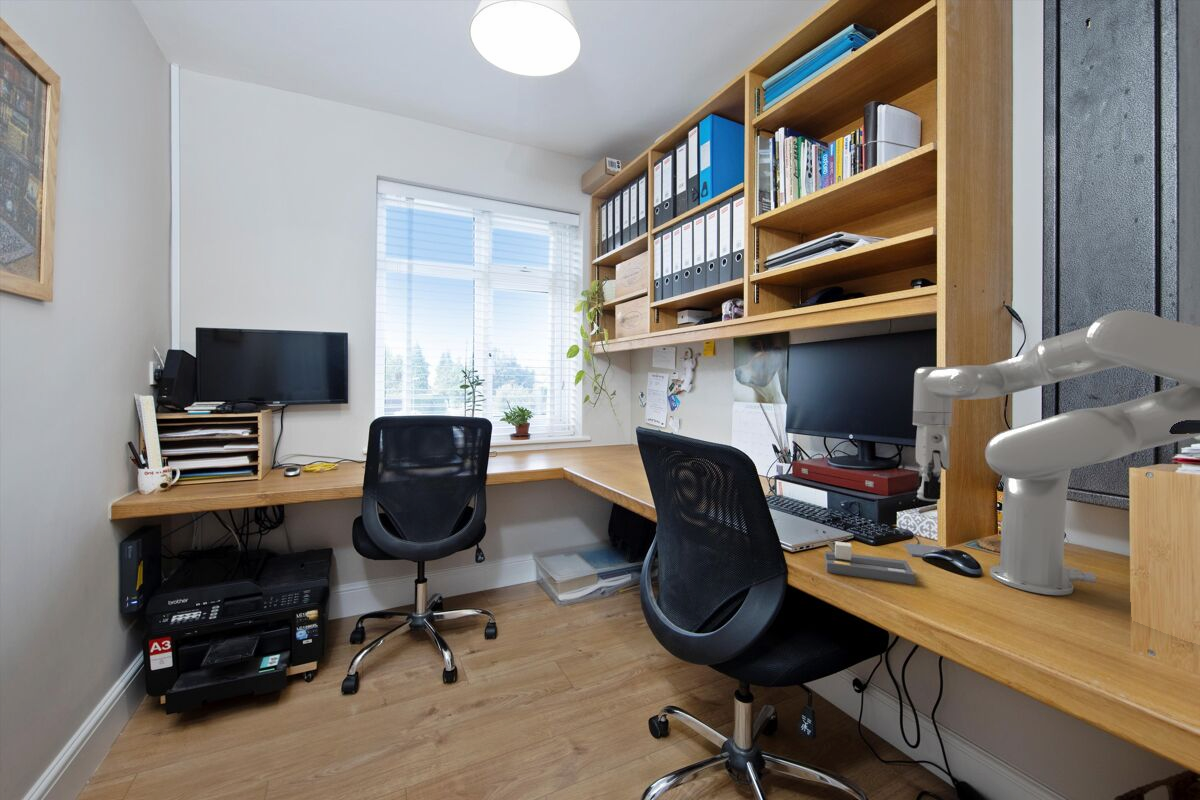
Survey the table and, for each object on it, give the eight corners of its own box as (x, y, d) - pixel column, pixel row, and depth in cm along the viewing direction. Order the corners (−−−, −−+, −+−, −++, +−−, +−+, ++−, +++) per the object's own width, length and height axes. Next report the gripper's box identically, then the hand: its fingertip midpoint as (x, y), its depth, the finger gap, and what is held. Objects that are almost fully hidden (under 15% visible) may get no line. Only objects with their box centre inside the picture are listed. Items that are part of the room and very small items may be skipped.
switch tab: (849, 556, 105) (850, 543, 105) (851, 560, 103) (851, 546, 103) (834, 554, 107) (835, 541, 106) (835, 558, 104) (836, 544, 104)
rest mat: (942, 549, 117) (942, 547, 117) (952, 560, 109) (952, 558, 109) (904, 544, 120) (904, 542, 120) (911, 555, 112) (911, 553, 112)
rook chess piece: (919, 495, 117) (920, 463, 117) (941, 499, 114) (942, 465, 113) (913, 498, 114) (915, 465, 114) (935, 502, 111) (937, 468, 110)
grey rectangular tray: (905, 569, 104) (906, 560, 104) (914, 584, 97) (914, 574, 96) (824, 559, 110) (824, 550, 110) (826, 572, 103) (827, 562, 102)
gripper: (962, 423, 104) (959, 506, 105) (940, 417, 119) (937, 489, 120) (921, 421, 107) (918, 503, 107) (905, 416, 122) (902, 487, 123)
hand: (928, 495), depth 114 cm, fingers closed on rook chess piece, 4 cm apart
